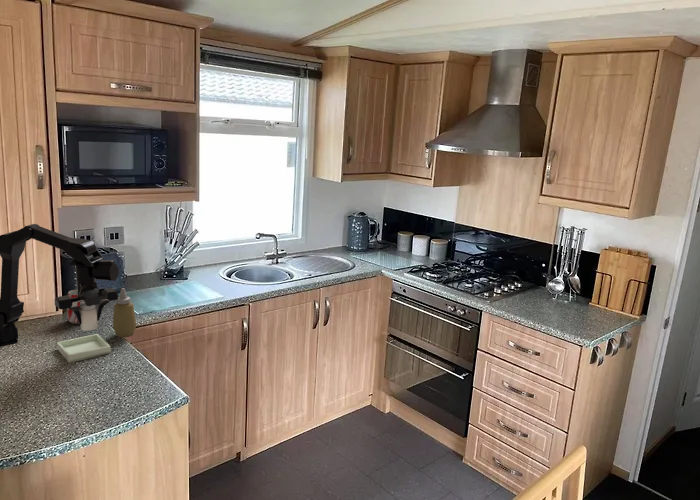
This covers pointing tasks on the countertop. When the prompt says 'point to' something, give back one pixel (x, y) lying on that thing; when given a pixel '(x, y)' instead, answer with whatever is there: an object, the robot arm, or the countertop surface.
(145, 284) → the countertop surface
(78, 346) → the sage tray
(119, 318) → the squeeze bottle
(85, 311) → the ceramic shaker
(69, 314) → the beverage can
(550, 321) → the countertop surface
